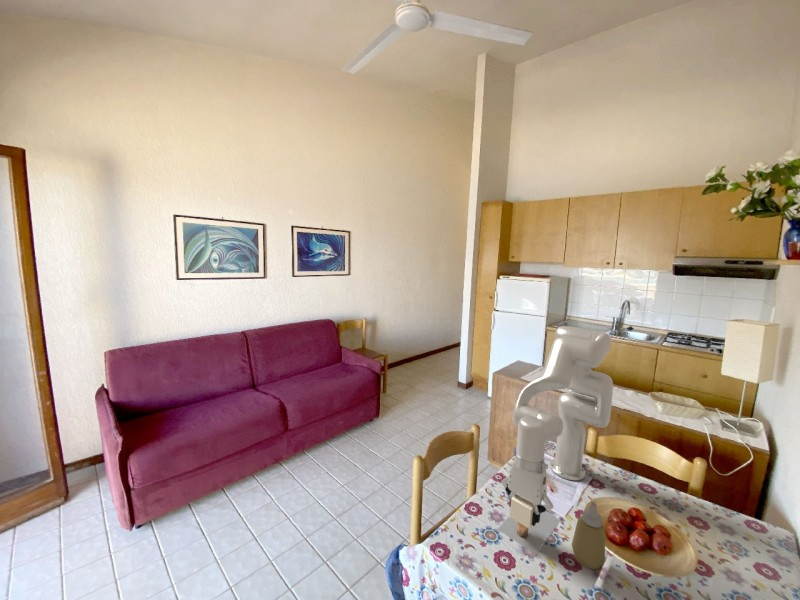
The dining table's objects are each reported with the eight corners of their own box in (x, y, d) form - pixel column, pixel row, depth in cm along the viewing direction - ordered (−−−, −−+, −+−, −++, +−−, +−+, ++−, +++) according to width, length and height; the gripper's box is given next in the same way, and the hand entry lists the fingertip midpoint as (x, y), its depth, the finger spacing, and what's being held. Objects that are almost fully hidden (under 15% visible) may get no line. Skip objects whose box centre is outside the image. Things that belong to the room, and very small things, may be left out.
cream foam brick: (518, 506, 105) (520, 488, 104) (538, 517, 101) (539, 499, 100) (509, 516, 101) (511, 498, 100) (529, 528, 97) (531, 509, 96)
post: (519, 527, 104) (520, 514, 104) (529, 533, 102) (531, 520, 101) (514, 533, 102) (516, 519, 101) (525, 539, 100) (526, 526, 99)
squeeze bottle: (586, 579, 90) (594, 517, 87) (563, 553, 97) (570, 495, 95) (610, 572, 92) (618, 511, 89) (586, 546, 99) (593, 490, 97)
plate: (523, 503, 116) (523, 499, 116) (560, 523, 108) (560, 520, 108) (497, 532, 103) (497, 529, 103) (536, 558, 95) (536, 554, 95)
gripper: (565, 468, 95) (558, 526, 98) (507, 443, 107) (503, 495, 110) (554, 480, 90) (548, 541, 92) (495, 452, 102) (491, 507, 104)
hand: (523, 516), depth 101 cm, fingers closed on cream foam brick, 5 cm apart
